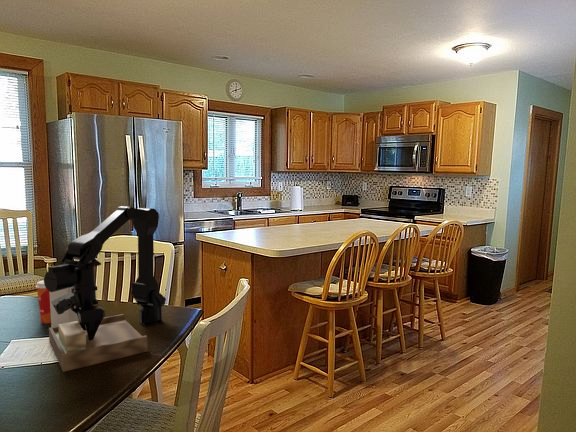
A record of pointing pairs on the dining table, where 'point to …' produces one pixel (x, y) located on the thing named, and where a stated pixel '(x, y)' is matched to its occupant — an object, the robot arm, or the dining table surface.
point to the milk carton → (64, 317)
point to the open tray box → (100, 344)
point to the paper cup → (44, 302)
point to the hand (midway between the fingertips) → (87, 335)
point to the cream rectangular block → (72, 335)
